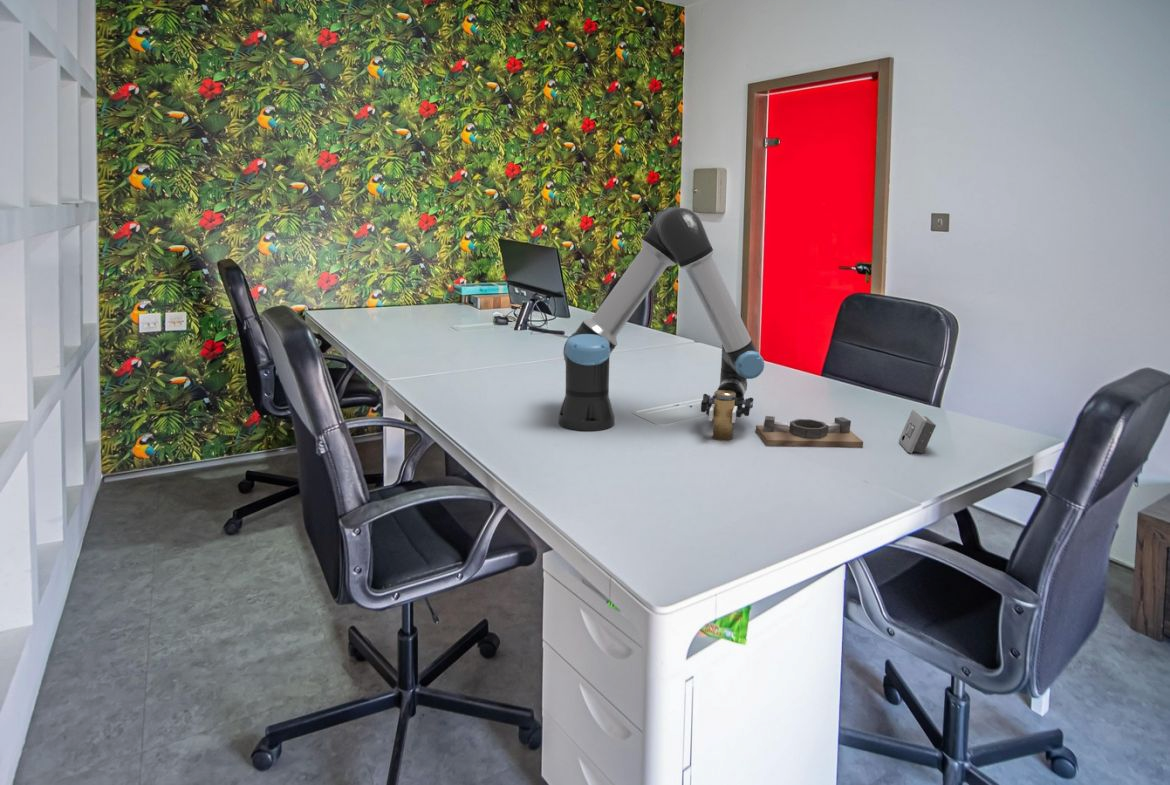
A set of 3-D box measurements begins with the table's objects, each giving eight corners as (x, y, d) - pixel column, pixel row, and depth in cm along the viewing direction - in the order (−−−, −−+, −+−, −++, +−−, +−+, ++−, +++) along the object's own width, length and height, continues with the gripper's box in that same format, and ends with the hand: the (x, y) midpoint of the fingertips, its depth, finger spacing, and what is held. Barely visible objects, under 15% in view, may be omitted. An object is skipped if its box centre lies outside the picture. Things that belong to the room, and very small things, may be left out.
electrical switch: (897, 442, 198) (905, 408, 196) (918, 445, 198) (926, 410, 195) (908, 454, 189) (916, 418, 187) (929, 457, 188) (938, 421, 186)
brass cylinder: (708, 438, 199) (710, 392, 196) (717, 433, 203) (720, 388, 200) (727, 441, 196) (730, 396, 193) (736, 436, 200) (739, 391, 197)
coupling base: (766, 445, 193) (768, 427, 192) (755, 430, 206) (756, 413, 205) (862, 447, 193) (864, 429, 192) (845, 432, 206) (847, 415, 205)
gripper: (762, 410, 213) (757, 434, 192) (696, 405, 218) (685, 427, 196) (764, 384, 212) (760, 405, 190) (698, 379, 216) (686, 399, 194)
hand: (722, 416), depth 193 cm, fingers closed on brass cylinder, 5 cm apart
